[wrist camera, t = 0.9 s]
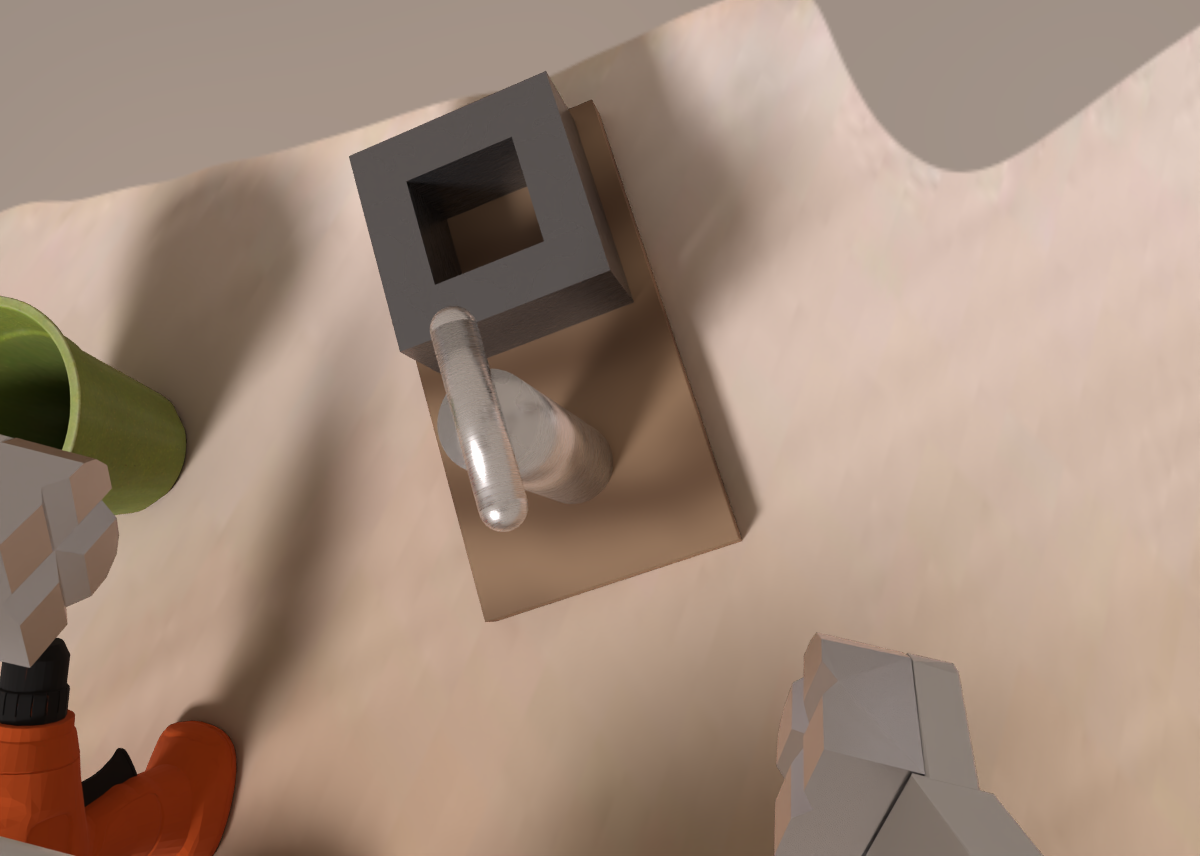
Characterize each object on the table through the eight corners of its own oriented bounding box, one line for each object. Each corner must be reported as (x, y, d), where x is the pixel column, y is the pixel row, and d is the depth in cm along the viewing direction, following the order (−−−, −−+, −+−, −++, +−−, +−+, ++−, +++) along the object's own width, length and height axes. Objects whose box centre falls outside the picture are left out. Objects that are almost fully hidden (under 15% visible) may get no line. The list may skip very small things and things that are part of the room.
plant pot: (55, 574, 57) (-131, 568, 46) (44, 377, 60) (-135, 328, 49) (236, 534, 55) (84, 517, 44) (217, 330, 57) (68, 267, 46)
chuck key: (512, 394, 50) (390, 320, 37) (585, 367, 50) (487, 282, 36) (560, 562, 48) (449, 546, 35) (638, 536, 48) (554, 510, 34)
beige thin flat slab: (383, 203, 56) (371, 192, 54) (598, 112, 53) (591, 99, 52) (495, 621, 50) (485, 621, 49) (742, 540, 48) (738, 538, 46)
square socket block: (393, 195, 54) (348, 156, 49) (574, 119, 52) (545, 71, 47) (442, 375, 51) (400, 351, 47) (634, 302, 50) (610, 270, 45)
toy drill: (272, 516, 53) (44, 533, 38) (229, 873, 52) (-16, 1027, 38) (193, 504, 54) (-56, 517, 39) (151, 853, 54) (-115, 993, 39)
